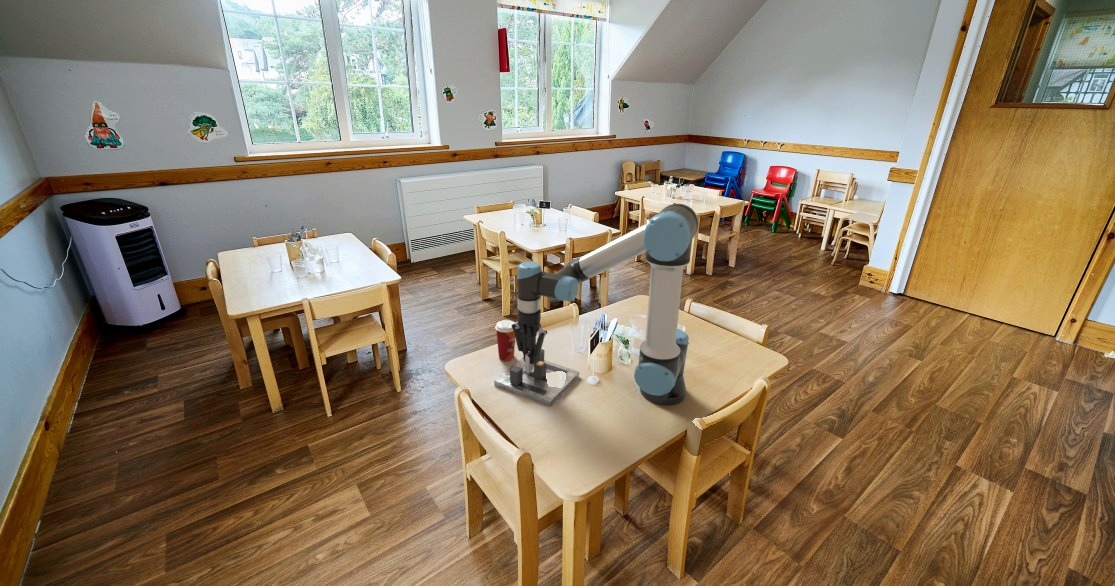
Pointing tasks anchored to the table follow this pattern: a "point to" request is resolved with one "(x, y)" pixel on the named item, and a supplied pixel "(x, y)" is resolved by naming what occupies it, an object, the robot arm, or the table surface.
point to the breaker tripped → (540, 370)
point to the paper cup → (505, 340)
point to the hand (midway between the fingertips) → (529, 370)
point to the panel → (537, 383)
